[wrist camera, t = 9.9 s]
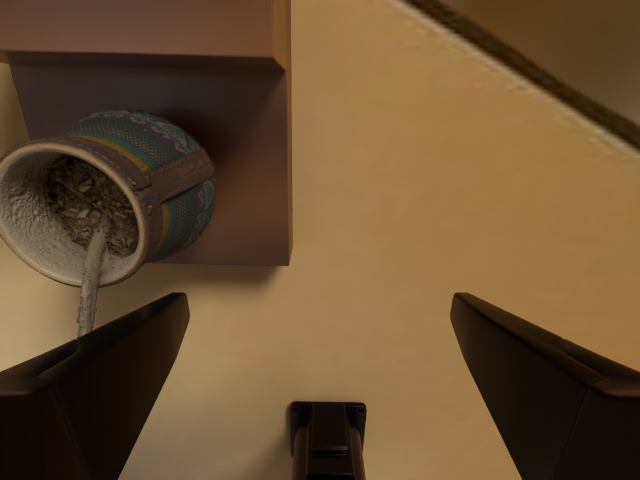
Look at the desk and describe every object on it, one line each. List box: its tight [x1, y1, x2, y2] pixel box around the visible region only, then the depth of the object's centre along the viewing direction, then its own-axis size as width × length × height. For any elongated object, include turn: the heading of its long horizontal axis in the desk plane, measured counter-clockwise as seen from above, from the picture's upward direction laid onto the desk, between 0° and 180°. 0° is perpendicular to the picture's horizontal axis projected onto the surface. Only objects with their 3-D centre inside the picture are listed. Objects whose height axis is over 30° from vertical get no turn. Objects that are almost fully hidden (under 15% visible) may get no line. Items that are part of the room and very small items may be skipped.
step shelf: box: [0, 0, 293, 266], centre depth 17 cm, size 16×14×8 cm
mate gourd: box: [0, 109, 217, 337], centre depth 15 cm, size 7×8×10 cm
